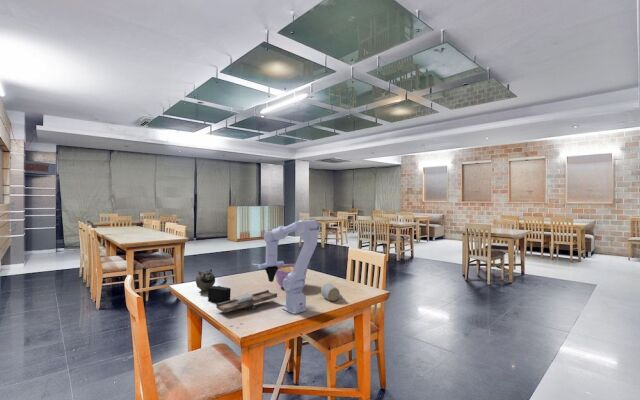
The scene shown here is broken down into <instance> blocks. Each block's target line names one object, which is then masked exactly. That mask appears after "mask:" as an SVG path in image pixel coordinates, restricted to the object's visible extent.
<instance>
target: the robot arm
mask: <svg viewBox="0 0 640 400" xmlns="http://www.w3.org/2000/svg"><path fill="white" fill-rule="evenodd" d="M320 231H321V226H320V222H318V220H316V219H304V220H303V219H300V220H296V221H295V222H292V223H291V224H288V225H287V226H285V225H278V226H277V227H276V228H272V229H271V230H266V231H265V232H264V234H263V240H264V242H265V262H263V263H260V264H257V269H259V270H262V269H264V271H265V272H266V275H267V279H268V282H271V283H272V282H274V280H275V278H276V277H275V274H276V272H277V270H278V267H277V266H281V265H282V266H283V265H284V264H285V261H283V260H280V261H278V245H279V241H280V240H282V239H284V238H285V239H286V238H287V237H288V236H289V234H290V233H293V232H297V234H298V236H299V237H300V239H301V240H302V241H303V245H302V247H301V250H300V253H299V255H298V257H297V259H296V262H295V263H294V264H295V266H294V268H293V271H291V272H290V273H289V274H288V275H287V277H286V278H285V279H284V280H283V288H282V289H284V291H285V306H283V307H282V308H281V309H282V310H284V311H286V312H289V313H291V314H292V315H297V314H300V313H302V312H306V311H307V310H308V309H307V308H306V307H307V305H306V304H307V297H306V295H305V293H303V289H304V287H305V285H306V279H307V276H305V274H304V273H305V270H306V268H307V269H308V266H309V263H310V260H311V258H312V256H313V254H314V251H315V249H316V248H317V245H318V239H319V238H318V237H319V232H320Z"/></svg>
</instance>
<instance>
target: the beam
mask: <svg viewBox="0 0 640 400" xmlns="http://www.w3.org/2000/svg"><path fill="white" fill-rule="evenodd" d="M250 295H253V300H251V301H247V302H244V303H240V304H237V305H236V304H234V303H233V299H230V300H229V301H226V302H222V303H216V309H218V310H219V311H221V312H222V313H228V312H231V311H235V310H239V309H242V308H245V307H246V306H249V305H253V304H254V305H256V304H258V303H262V302H266V301H269V300H272V299H275V298H277V297H278V293H275V292H274V293H272V292H271V291H269V289H267V290H264V291H259V292H256V293H252V294H250Z"/></svg>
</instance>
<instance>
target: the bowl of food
mask: <svg viewBox="0 0 640 400" xmlns="http://www.w3.org/2000/svg"><path fill="white" fill-rule="evenodd" d="M295 264H296V263H286V264H285V263H284V265H283V266H282V265H281V266H277V267H278V270H277V272H276V274H275V277H274V278H275V281H276V283H277V284H278V285H279V286H280V287H283V280H284V279H285V278H286V277H287V275H288V274H289V273H290V272H291V271H293V268H294V266H295ZM307 272H308V267H307V268H306V270H305V273H304V274H305V276H306V275H307ZM306 277H307V276H306Z"/></svg>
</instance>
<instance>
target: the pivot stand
mask: <svg viewBox="0 0 640 400" xmlns="http://www.w3.org/2000/svg"><path fill="white" fill-rule="evenodd" d="M244 308H246V309H247V310H249V311H251V312H253V311H256V304H253V305H249V306H246V307H244Z"/></svg>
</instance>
